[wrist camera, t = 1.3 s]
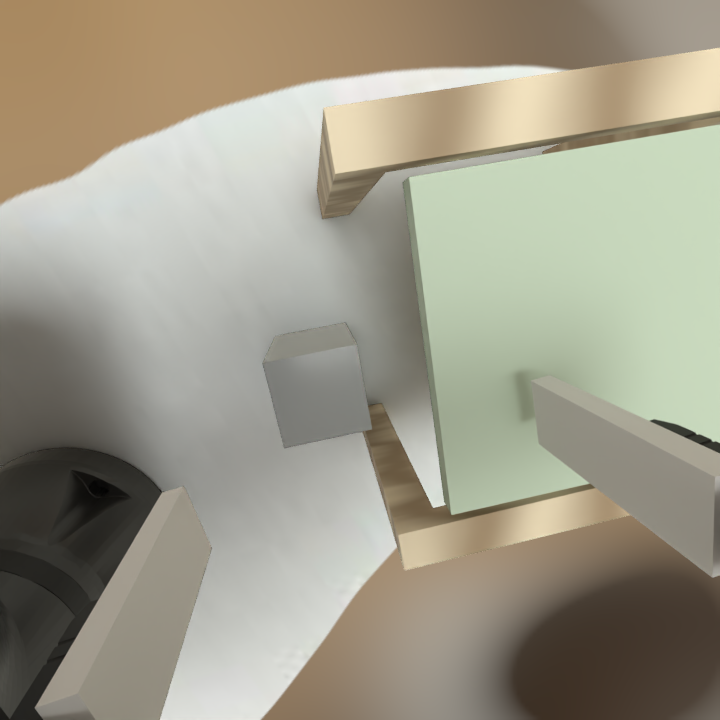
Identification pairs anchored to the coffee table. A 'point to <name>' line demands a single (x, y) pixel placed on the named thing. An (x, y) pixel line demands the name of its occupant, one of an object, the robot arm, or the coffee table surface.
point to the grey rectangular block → (316, 385)
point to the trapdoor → (566, 299)
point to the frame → (480, 138)
